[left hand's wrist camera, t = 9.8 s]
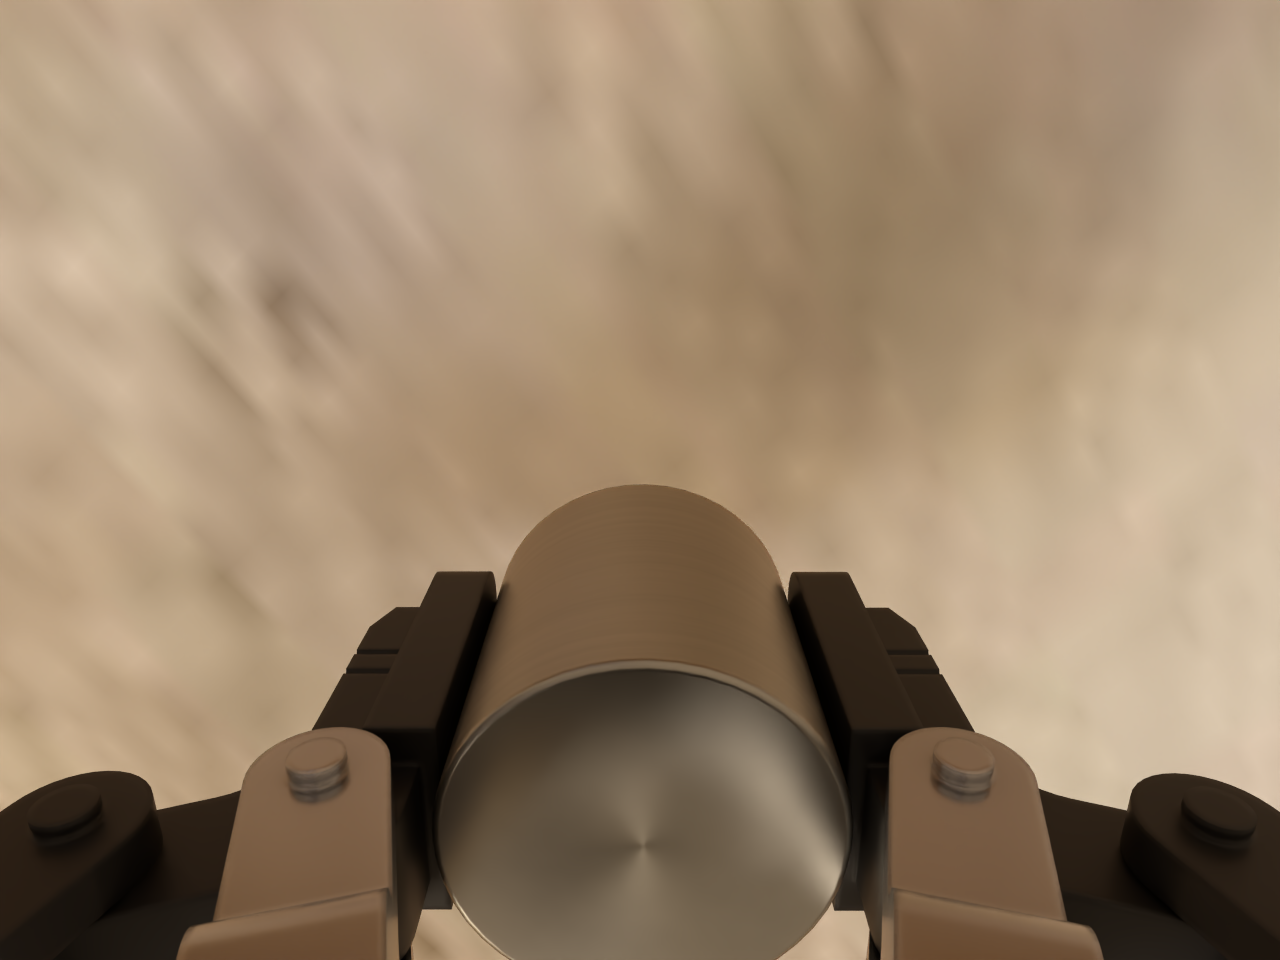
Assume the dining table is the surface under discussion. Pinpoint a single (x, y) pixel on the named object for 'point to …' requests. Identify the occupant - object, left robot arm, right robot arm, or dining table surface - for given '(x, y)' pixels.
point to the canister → (642, 746)
